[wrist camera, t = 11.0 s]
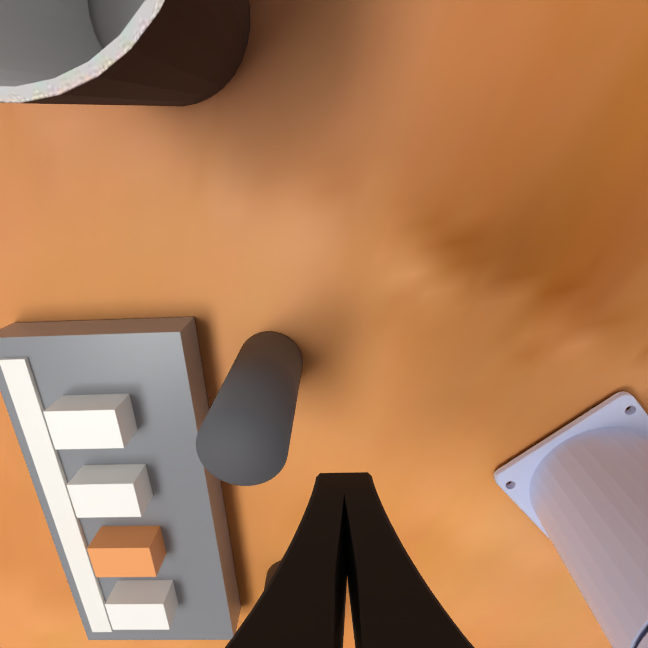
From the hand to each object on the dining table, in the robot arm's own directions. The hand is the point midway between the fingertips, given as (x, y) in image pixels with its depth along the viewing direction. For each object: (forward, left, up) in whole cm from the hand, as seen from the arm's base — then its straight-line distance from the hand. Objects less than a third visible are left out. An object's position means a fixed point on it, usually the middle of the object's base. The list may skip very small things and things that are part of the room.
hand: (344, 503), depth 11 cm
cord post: (+2, +3, -10) cm, 11 cm away
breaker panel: (+1, +14, -10) cm, 18 cm away
